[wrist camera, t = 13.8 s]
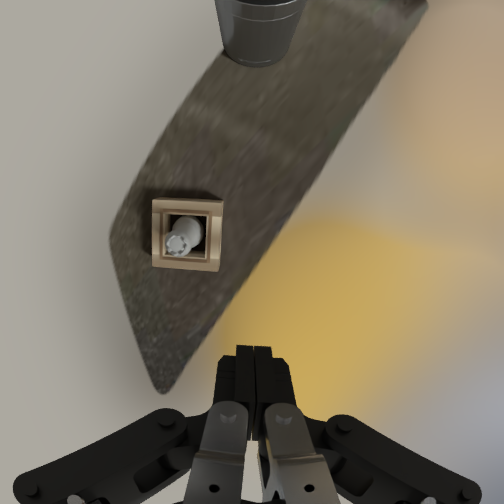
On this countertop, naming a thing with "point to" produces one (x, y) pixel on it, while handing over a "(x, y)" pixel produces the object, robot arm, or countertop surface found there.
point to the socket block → (161, 228)
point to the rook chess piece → (184, 236)
